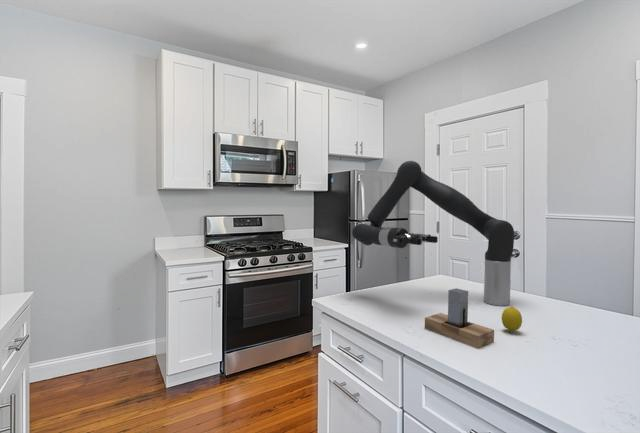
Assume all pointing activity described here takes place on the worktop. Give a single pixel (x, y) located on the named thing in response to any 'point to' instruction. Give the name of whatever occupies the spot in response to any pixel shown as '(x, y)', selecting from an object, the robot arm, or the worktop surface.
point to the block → (457, 307)
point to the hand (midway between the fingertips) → (429, 240)
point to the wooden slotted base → (460, 331)
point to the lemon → (511, 319)
